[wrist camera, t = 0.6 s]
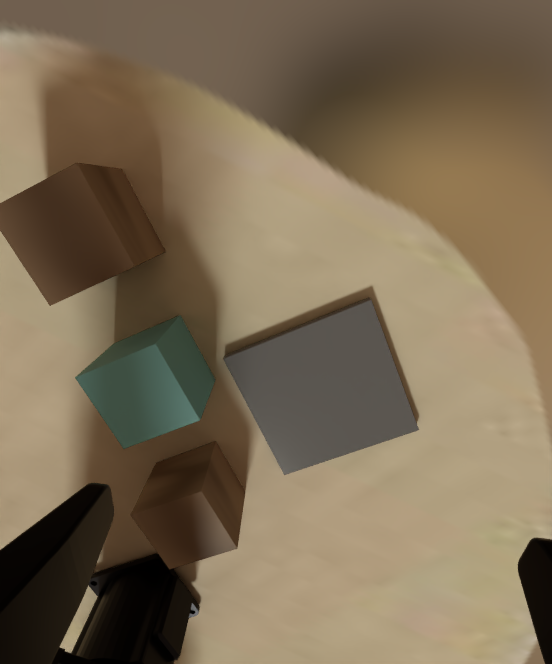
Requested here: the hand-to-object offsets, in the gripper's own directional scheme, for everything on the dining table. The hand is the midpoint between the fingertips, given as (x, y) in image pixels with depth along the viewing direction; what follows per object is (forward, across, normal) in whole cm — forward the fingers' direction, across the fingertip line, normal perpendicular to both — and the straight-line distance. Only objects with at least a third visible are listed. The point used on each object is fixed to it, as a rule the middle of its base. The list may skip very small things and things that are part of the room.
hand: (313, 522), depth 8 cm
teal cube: (+14, +8, +5) cm, 17 cm away
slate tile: (+14, -1, +6) cm, 15 cm away
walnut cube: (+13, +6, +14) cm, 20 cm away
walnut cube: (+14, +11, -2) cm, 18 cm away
